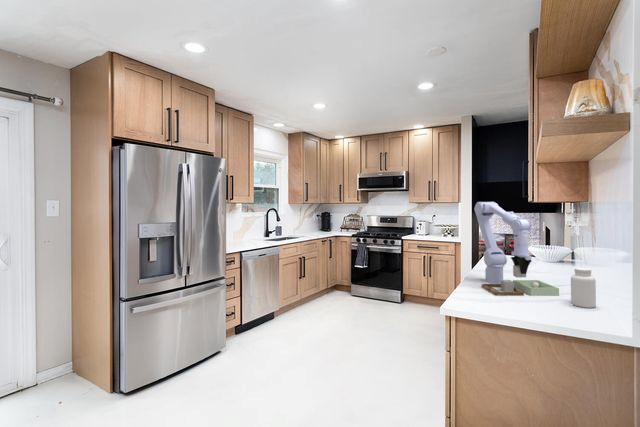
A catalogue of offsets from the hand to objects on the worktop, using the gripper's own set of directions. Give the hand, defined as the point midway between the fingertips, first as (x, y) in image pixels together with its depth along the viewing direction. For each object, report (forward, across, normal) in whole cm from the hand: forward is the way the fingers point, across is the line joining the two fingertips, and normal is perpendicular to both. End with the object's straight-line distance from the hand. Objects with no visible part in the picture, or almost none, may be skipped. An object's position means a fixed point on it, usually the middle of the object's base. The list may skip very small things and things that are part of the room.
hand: (521, 272), depth 157 cm
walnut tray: (+9, +2, -10) cm, 13 cm away
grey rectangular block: (+2, 0, -1) cm, 2 cm away
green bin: (+9, +2, +5) cm, 10 cm away
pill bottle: (+9, +22, +14) cm, 27 cm away
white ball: (+8, -4, +9) cm, 13 cm away
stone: (+8, +2, -7) cm, 11 cm away
